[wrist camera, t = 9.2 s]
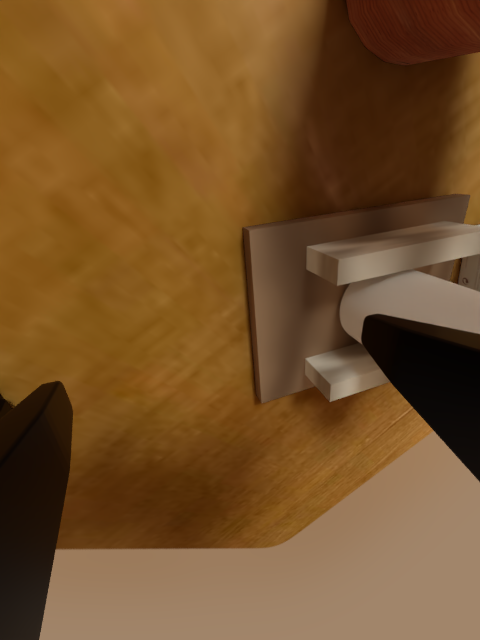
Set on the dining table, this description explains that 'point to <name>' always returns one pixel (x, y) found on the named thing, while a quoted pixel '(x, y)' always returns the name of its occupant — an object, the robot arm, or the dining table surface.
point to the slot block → (338, 286)
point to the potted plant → (416, 28)
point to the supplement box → (470, 272)
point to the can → (410, 302)
